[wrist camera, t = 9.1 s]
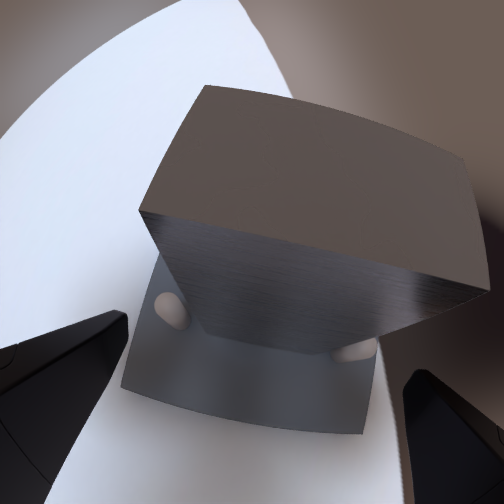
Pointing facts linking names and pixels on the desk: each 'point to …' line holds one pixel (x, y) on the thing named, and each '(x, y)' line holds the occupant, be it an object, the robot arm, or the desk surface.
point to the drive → (311, 223)
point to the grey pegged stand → (243, 371)
